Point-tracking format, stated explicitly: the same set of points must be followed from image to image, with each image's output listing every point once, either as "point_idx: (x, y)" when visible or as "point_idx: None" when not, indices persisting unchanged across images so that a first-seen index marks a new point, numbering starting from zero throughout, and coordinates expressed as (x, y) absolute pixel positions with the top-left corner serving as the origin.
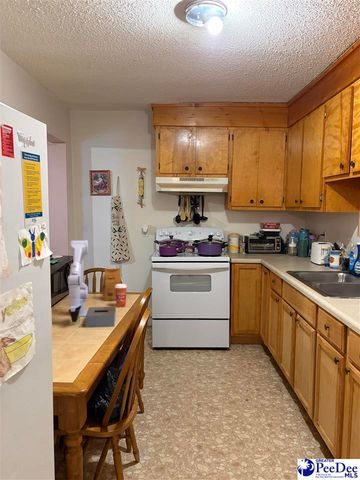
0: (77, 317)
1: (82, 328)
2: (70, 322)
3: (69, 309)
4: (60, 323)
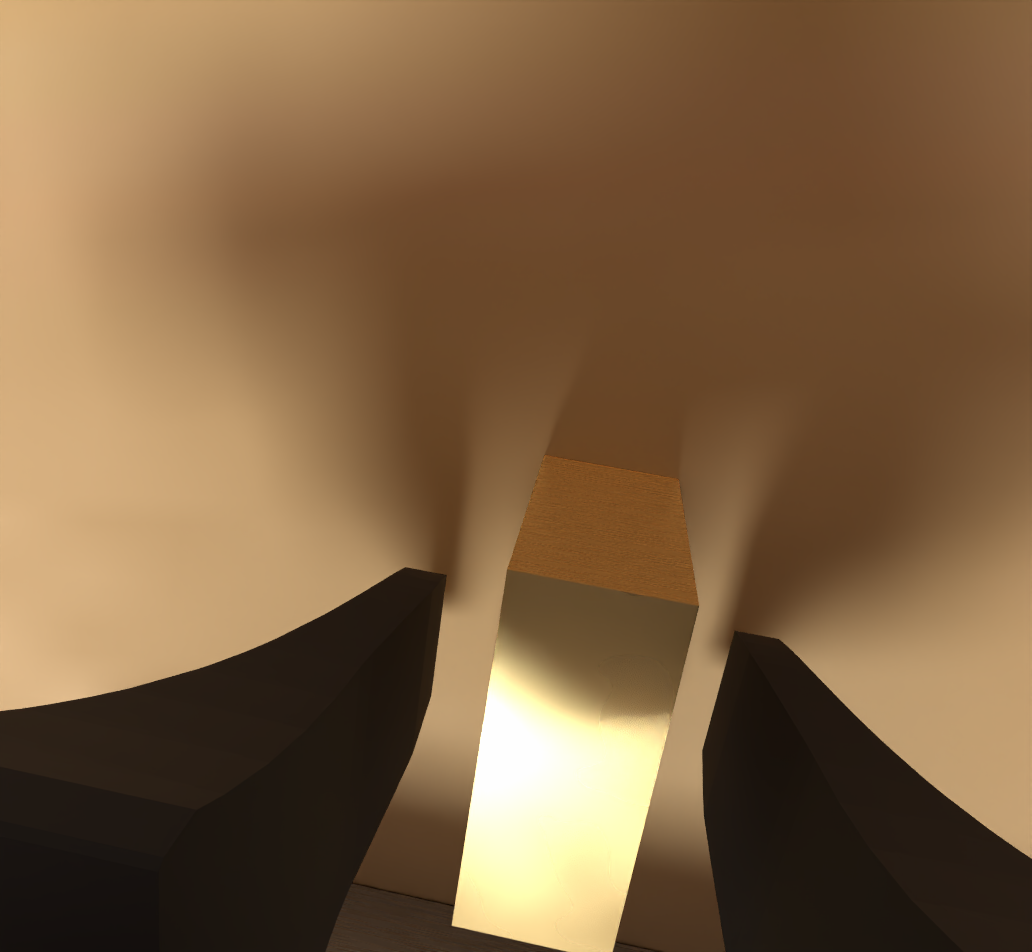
0: (472, 832)
1: None
2: (538, 485)
3: (69, 896)
4: (718, 73)
